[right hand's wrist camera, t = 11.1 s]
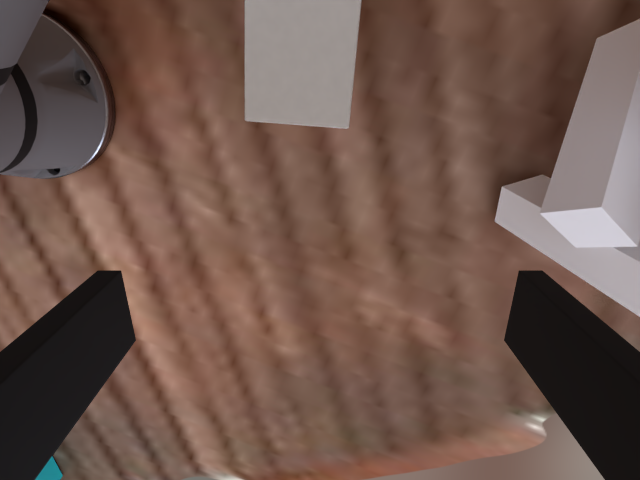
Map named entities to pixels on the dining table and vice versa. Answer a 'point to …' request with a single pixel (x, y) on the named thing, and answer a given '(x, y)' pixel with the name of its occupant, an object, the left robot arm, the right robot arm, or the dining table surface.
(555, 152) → the dining table surface
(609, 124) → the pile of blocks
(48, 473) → the bracket
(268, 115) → the bar
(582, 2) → the dining table surface
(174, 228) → the dining table surface
